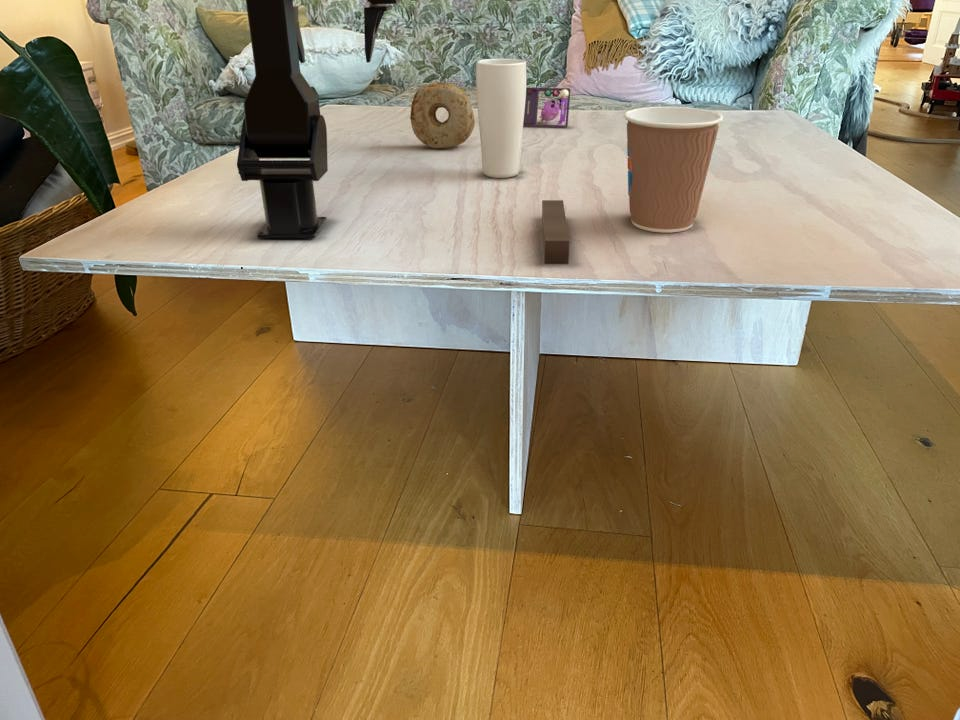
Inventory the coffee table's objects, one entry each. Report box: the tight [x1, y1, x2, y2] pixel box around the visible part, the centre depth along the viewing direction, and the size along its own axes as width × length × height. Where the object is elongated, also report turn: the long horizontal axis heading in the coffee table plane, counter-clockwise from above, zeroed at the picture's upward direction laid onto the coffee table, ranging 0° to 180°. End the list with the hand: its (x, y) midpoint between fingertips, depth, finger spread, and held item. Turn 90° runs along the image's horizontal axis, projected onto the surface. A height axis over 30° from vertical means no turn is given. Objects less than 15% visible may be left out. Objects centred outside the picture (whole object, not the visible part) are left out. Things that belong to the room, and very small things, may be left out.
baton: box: [541, 199, 570, 265], centre depth 79 cm, size 14×2×2 cm, turn 177°
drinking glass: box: [475, 58, 527, 179], centre depth 101 cm, size 7×7×15 cm
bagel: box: [409, 81, 476, 149], centre depth 118 cm, size 10×4×10 cm, turn 77°
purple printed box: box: [523, 86, 571, 129], centre depth 135 cm, size 7×5×9 cm
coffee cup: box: [623, 106, 724, 234], centre depth 82 cm, size 10×10×12 cm
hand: (335, 62), depth 102 cm, fingers open, 9 cm apart
